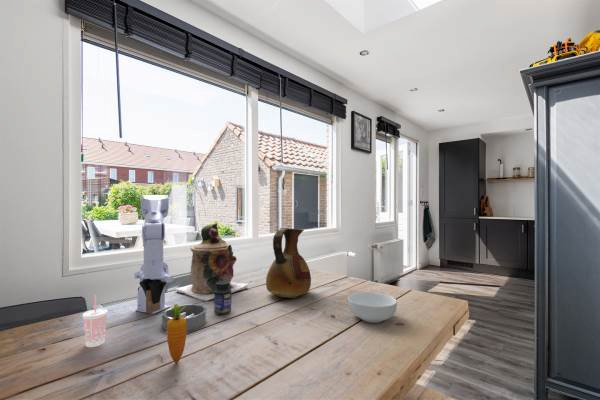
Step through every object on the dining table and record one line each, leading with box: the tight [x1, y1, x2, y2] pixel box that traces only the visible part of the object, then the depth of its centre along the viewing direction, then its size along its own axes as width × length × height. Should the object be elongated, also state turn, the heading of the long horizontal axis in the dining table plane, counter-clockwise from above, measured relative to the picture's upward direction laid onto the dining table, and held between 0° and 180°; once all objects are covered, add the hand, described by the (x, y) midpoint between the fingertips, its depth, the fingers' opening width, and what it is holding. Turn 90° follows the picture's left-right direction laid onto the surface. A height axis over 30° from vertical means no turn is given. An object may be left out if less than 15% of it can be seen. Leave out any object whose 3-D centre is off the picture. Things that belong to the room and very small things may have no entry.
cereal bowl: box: [347, 291, 398, 324], centre depth 106 cm, size 17×17×7 cm
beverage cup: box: [82, 294, 109, 348], centre depth 87 cm, size 6×6×14 cm
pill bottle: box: [213, 281, 232, 316], centre depth 112 cm, size 6×6×11 cm
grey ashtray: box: [161, 303, 208, 332], centre depth 102 cm, size 14×14×4 cm
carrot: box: [166, 303, 187, 364], centre depth 77 cm, size 5×5×15 cm
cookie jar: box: [175, 221, 249, 302], centre depth 140 cm, size 25×25×32 cm
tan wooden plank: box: [145, 289, 160, 314], centre depth 96 cm, size 2×4×7 cm, turn 159°
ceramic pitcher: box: [265, 227, 312, 299], centre depth 133 cm, size 20×20×30 cm
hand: (153, 302), depth 96 cm, fingers closed on tan wooden plank, 2 cm apart
